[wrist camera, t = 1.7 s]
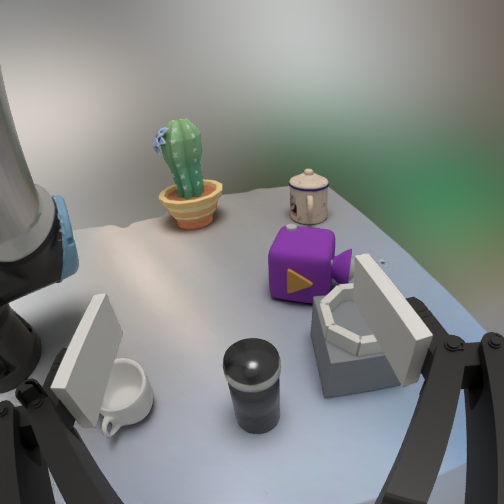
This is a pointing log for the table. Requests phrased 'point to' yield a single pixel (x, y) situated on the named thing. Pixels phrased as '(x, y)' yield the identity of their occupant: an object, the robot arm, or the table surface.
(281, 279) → the toy camera
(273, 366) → the lens
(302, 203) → the teacup with lid
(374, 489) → the table surface
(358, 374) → the camera body block
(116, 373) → the teacup
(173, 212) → the potted cactus
